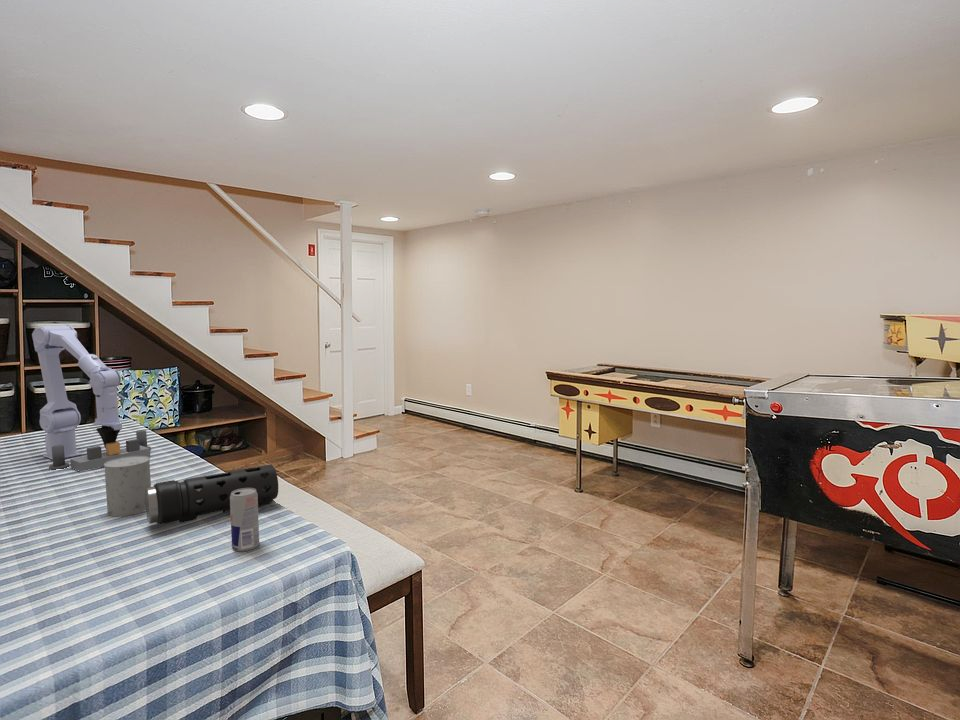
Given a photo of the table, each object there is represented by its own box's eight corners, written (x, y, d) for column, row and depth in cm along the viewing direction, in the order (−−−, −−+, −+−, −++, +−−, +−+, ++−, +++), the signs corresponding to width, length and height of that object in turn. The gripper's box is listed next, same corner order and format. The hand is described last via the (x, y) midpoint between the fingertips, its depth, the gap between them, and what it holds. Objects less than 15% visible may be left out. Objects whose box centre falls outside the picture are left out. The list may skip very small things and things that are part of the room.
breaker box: (71, 468, 164) (69, 448, 164) (140, 453, 181) (139, 435, 180) (80, 472, 161) (78, 451, 160) (150, 457, 177) (149, 438, 177)
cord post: (131, 451, 184) (129, 432, 183) (146, 448, 188) (145, 429, 187) (138, 453, 181) (136, 434, 180) (153, 450, 185) (152, 431, 184)
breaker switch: (106, 454, 169) (105, 443, 169) (117, 452, 172) (116, 441, 171) (109, 455, 168) (108, 444, 168) (120, 453, 171) (119, 442, 170)
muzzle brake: (279, 507, 134) (278, 468, 133) (151, 536, 117) (148, 491, 116) (268, 496, 142) (267, 459, 141) (146, 522, 124) (143, 480, 123)
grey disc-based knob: (46, 469, 164) (44, 447, 163) (65, 465, 168) (64, 443, 167) (52, 471, 161) (51, 449, 160) (72, 467, 165) (70, 446, 164)
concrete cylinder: (103, 518, 126) (100, 469, 125) (110, 505, 134) (107, 458, 133) (150, 512, 130) (148, 463, 129) (154, 499, 139) (151, 454, 138)
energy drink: (237, 541, 115) (235, 487, 113) (262, 540, 115) (260, 487, 114) (227, 552, 109) (225, 496, 108) (254, 551, 110) (252, 495, 109)
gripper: (83, 407, 170) (86, 448, 172) (103, 412, 162) (105, 455, 164) (108, 403, 176) (110, 443, 177) (128, 408, 168) (130, 450, 170)
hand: (110, 448), depth 171 cm, fingers closed
